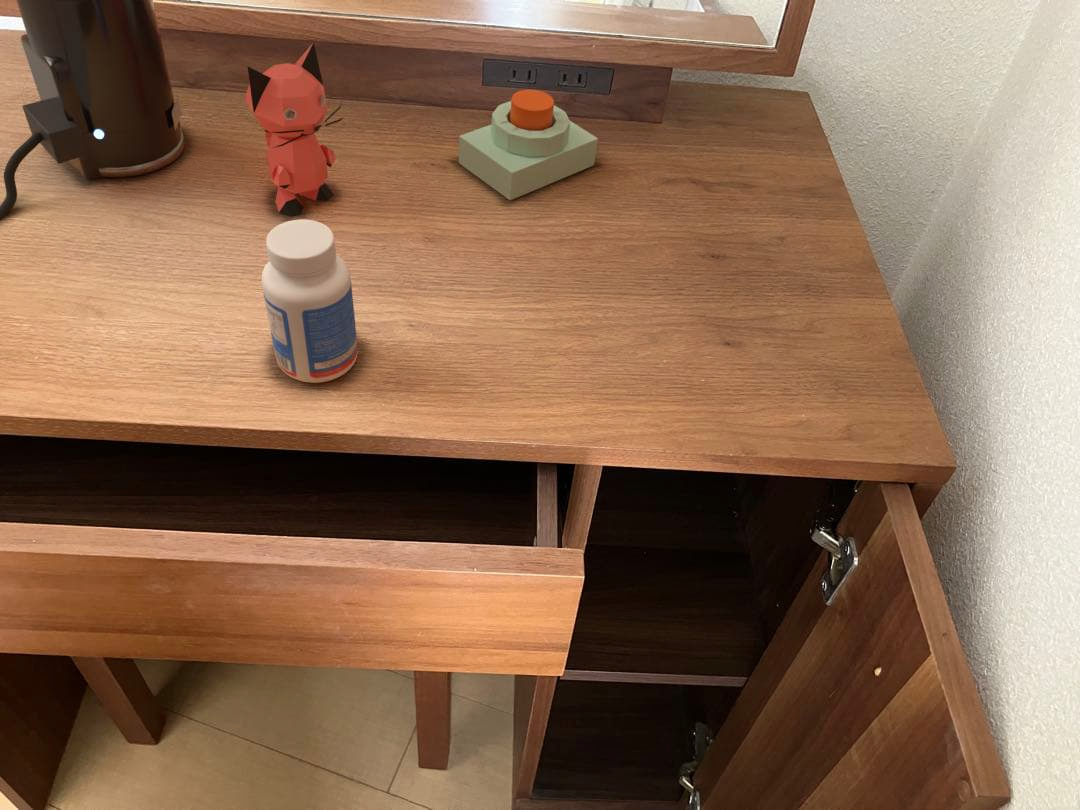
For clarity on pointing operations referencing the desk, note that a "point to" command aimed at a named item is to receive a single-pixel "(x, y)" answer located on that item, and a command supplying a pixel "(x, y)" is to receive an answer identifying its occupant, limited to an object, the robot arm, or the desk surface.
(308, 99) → the cat figurine
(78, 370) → the desk surface
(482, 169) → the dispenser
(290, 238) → the pill bottle
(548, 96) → the orange cylinder plug
